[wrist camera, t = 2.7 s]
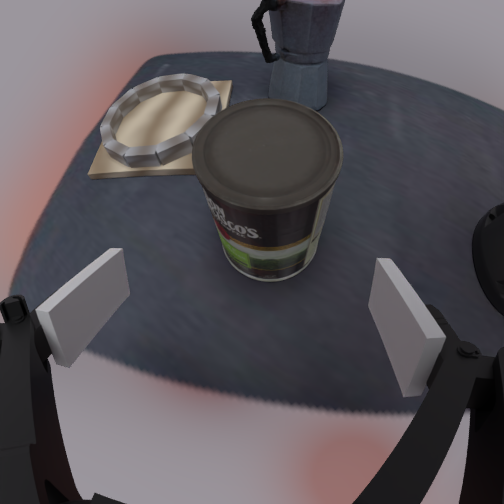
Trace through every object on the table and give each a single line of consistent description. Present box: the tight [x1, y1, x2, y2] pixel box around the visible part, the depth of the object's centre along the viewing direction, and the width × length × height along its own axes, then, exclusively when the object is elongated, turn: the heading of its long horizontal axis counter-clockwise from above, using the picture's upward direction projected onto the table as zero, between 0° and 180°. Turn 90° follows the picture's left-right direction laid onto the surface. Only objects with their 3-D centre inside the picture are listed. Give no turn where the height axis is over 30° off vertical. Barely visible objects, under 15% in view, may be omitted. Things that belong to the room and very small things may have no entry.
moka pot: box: [251, 0, 345, 111], centre depth 32 cm, size 10×15×20 cm, turn 139°
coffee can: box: [192, 98, 343, 282], centre depth 26 cm, size 10×10×14 cm
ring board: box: [88, 74, 233, 179], centre depth 39 cm, size 18×18×4 cm
